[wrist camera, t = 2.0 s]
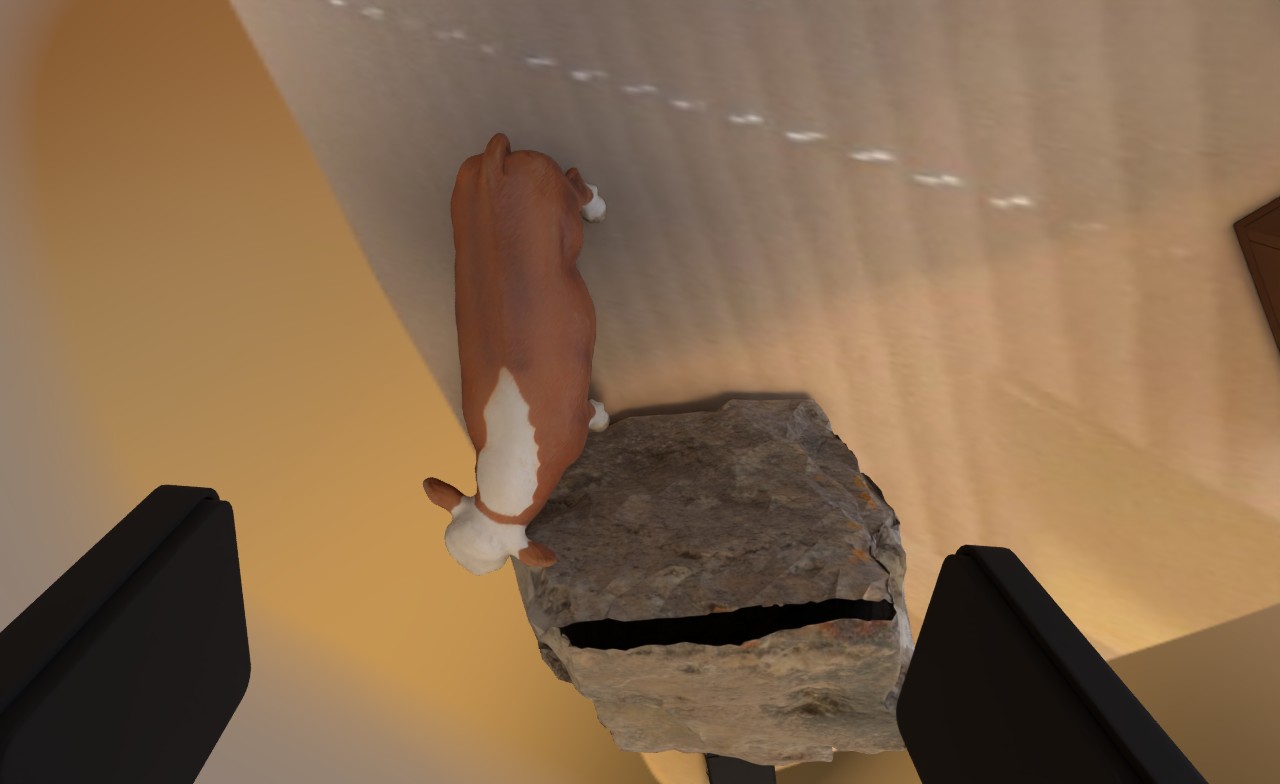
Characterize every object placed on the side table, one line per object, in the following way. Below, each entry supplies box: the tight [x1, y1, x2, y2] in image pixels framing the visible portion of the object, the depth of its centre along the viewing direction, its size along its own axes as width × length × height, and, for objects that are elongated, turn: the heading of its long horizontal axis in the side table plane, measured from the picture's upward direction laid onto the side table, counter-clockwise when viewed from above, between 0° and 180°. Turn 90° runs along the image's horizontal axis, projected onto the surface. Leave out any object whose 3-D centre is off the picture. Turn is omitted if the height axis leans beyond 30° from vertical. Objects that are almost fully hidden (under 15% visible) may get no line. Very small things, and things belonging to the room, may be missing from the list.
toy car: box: [704, 753, 776, 784], centre depth 37 cm, size 8×3×2 cm, turn 9°
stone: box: [510, 399, 915, 766], centre depth 27 cm, size 13×17×15 cm
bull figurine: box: [423, 133, 610, 576], centre depth 24 cm, size 4×13×8 cm, turn 178°
